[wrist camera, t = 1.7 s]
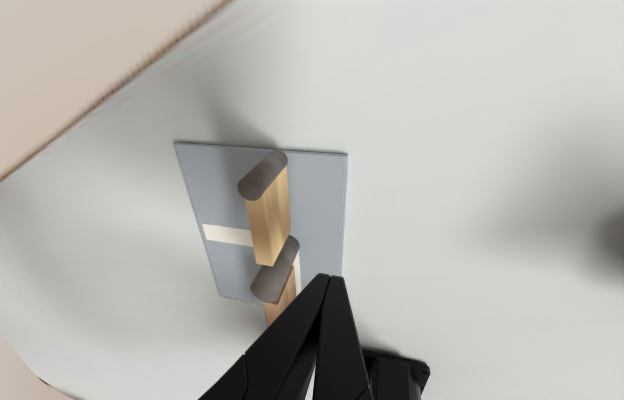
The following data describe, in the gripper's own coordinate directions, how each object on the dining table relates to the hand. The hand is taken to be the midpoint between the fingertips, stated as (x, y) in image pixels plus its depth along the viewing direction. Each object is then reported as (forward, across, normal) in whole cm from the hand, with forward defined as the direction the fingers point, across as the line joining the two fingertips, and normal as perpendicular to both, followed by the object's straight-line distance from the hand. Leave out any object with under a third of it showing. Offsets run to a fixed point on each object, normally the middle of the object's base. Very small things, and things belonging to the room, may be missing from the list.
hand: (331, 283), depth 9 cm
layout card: (+8, +6, +6) cm, 12 cm away
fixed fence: (+8, +5, +9) cm, 13 cm away
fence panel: (+7, +4, +1) cm, 9 cm away
